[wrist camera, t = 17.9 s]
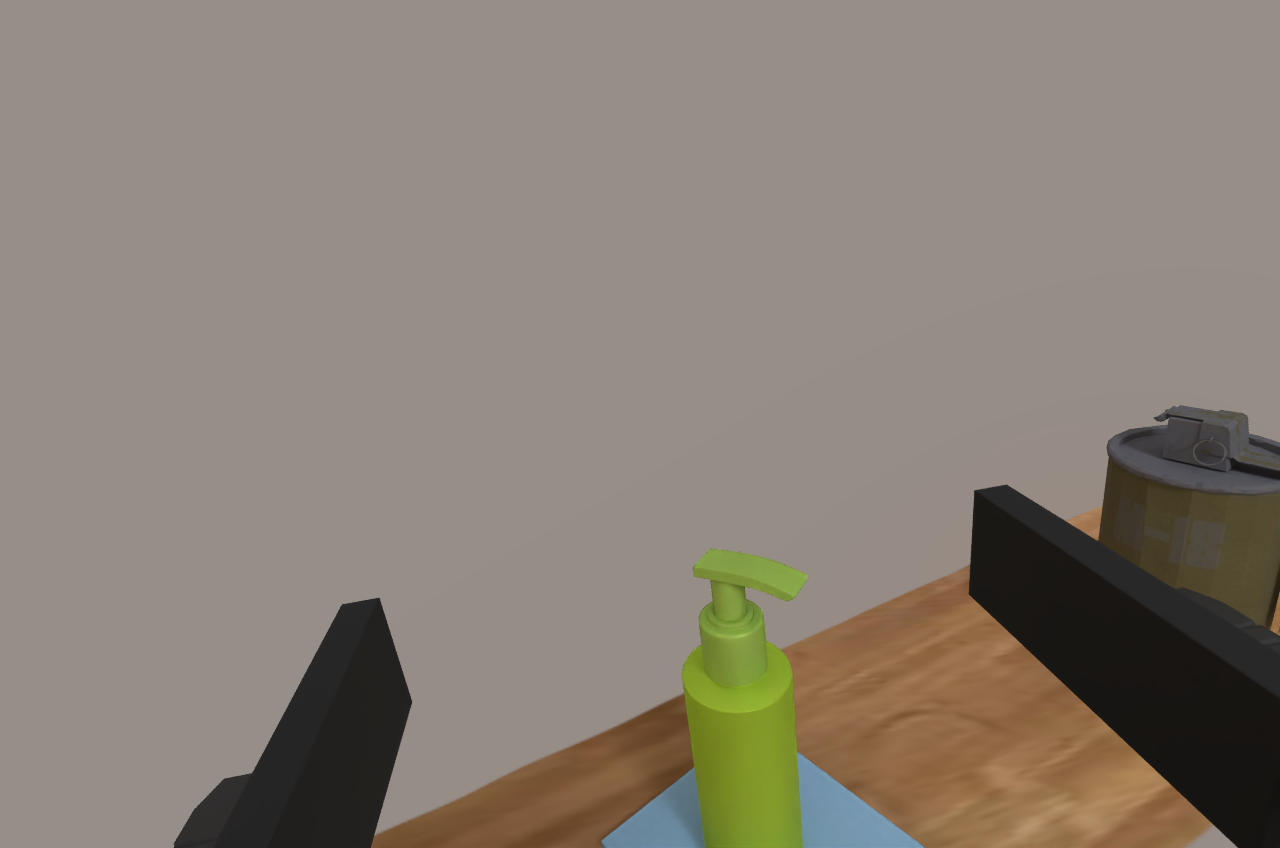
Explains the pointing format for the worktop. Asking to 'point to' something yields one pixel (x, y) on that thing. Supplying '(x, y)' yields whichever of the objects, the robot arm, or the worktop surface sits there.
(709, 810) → the soap dispenser
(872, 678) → the worktop surface
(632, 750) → the worktop surface
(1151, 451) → the canister
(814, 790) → the blue mat
